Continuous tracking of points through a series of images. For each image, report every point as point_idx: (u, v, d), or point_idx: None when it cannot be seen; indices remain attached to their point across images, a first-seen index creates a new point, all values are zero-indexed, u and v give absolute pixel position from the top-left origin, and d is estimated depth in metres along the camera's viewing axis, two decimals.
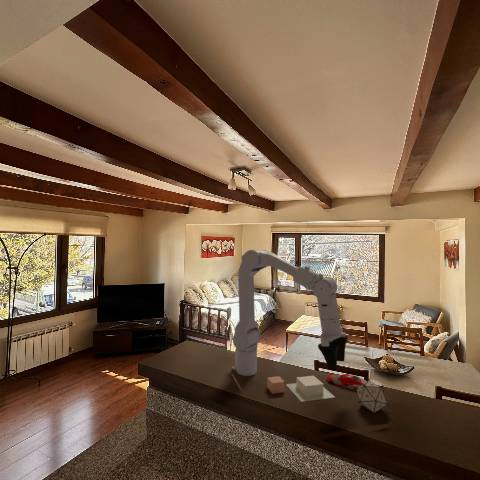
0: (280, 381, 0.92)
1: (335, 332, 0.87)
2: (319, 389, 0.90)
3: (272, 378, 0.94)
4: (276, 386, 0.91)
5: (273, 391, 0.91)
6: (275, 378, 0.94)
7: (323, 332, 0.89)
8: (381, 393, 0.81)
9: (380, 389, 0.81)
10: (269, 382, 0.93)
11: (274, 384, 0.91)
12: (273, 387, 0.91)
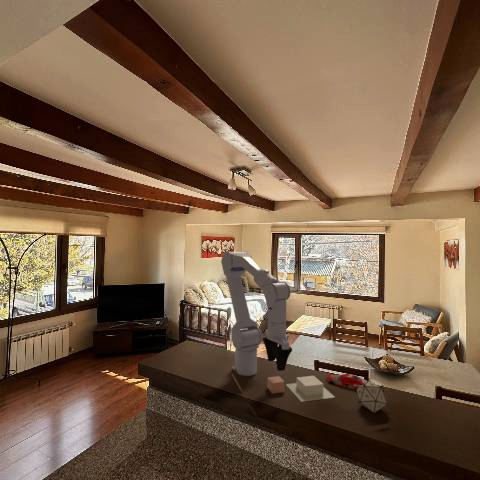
0: (280, 381, 0.92)
1: (284, 334, 0.92)
2: (319, 389, 0.90)
3: (272, 378, 0.94)
4: (276, 386, 0.91)
5: (273, 391, 0.91)
6: (275, 378, 0.94)
7: (273, 335, 0.91)
8: (381, 393, 0.81)
9: (380, 389, 0.81)
10: (269, 382, 0.93)
11: (274, 384, 0.91)
12: (273, 387, 0.91)
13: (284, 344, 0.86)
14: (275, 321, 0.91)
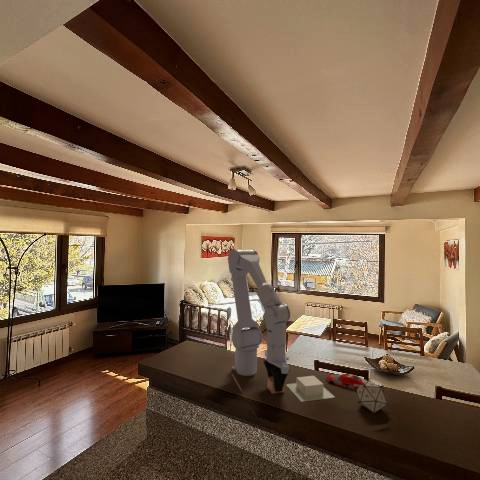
0: None
1: (284, 357, 0.92)
2: (319, 389, 0.90)
3: (272, 378, 0.94)
4: None
5: (273, 391, 0.91)
6: None
7: (273, 358, 0.91)
8: (381, 393, 0.81)
9: (380, 389, 0.81)
10: (269, 382, 0.93)
11: None
12: (273, 387, 0.91)
13: (284, 368, 0.86)
14: (275, 344, 0.90)
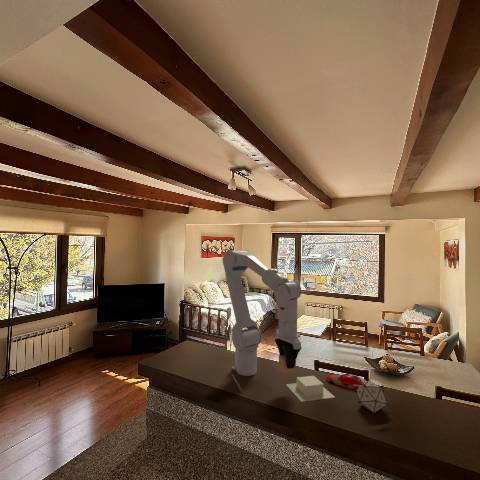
0: None
1: (296, 334, 0.91)
2: (319, 389, 0.90)
3: (284, 356, 0.94)
4: None
5: (285, 368, 0.91)
6: None
7: (285, 335, 0.91)
8: (381, 393, 0.81)
9: (380, 389, 0.81)
10: (280, 360, 0.93)
11: None
12: (285, 364, 0.91)
13: (296, 344, 0.86)
14: (288, 321, 0.90)
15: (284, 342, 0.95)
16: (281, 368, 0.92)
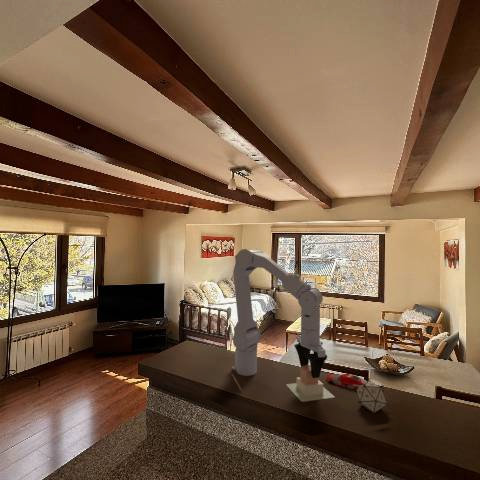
0: None
1: (319, 341, 0.91)
2: (319, 389, 0.90)
3: (305, 366, 0.94)
4: (311, 374, 0.91)
5: (307, 379, 0.90)
6: (308, 366, 0.93)
7: (308, 342, 0.90)
8: (381, 393, 0.81)
9: (380, 389, 0.81)
10: (302, 370, 0.92)
11: (309, 372, 0.91)
12: (307, 375, 0.90)
13: (320, 352, 0.86)
14: (313, 328, 0.90)
15: (304, 348, 0.96)
16: (303, 379, 0.92)
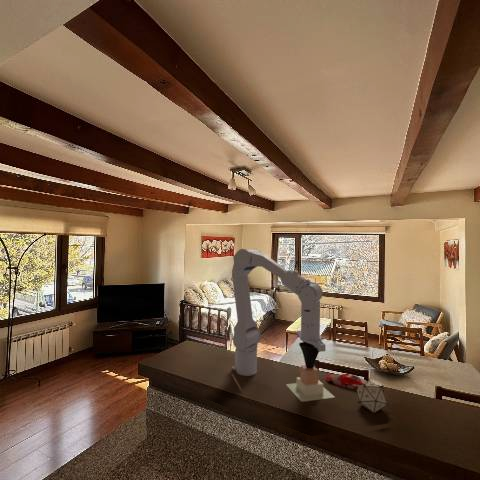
0: (314, 369, 0.92)
1: (319, 336, 0.91)
2: (319, 389, 0.90)
3: (305, 366, 0.94)
4: (311, 374, 0.91)
5: (307, 379, 0.90)
6: None
7: (308, 337, 0.90)
8: (381, 393, 0.81)
9: (380, 389, 0.81)
10: (302, 370, 0.92)
11: (309, 372, 0.91)
12: (307, 375, 0.90)
13: (320, 346, 0.86)
14: (313, 323, 0.90)
15: None
16: (303, 379, 0.92)
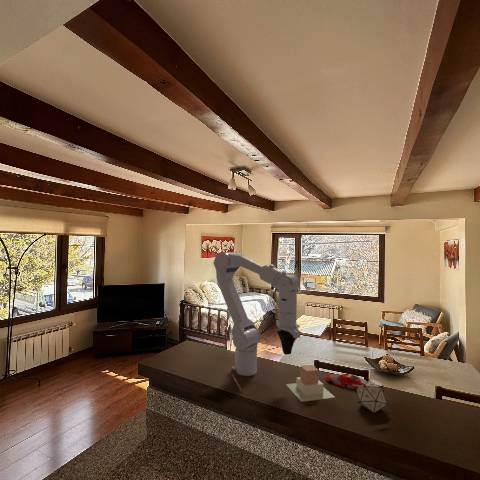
0: (314, 369, 0.92)
1: (295, 324, 0.96)
2: (319, 389, 0.90)
3: (305, 366, 0.94)
4: (311, 374, 0.91)
5: (307, 379, 0.90)
6: (308, 366, 0.93)
7: (285, 325, 0.95)
8: (381, 393, 0.81)
9: (380, 389, 0.81)
10: (302, 370, 0.92)
11: (309, 372, 0.91)
12: (307, 375, 0.90)
13: (295, 333, 0.90)
14: (290, 311, 0.95)
15: None
16: (303, 379, 0.92)
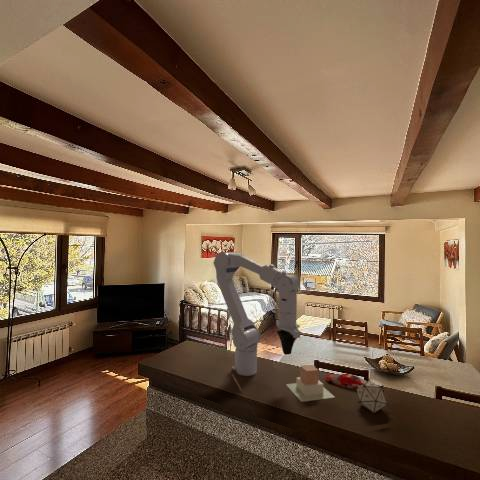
0: (314, 369, 0.92)
1: (295, 324, 0.96)
2: (319, 389, 0.90)
3: (305, 366, 0.94)
4: (311, 374, 0.91)
5: (307, 379, 0.90)
6: (308, 366, 0.93)
7: (285, 325, 0.95)
8: (381, 393, 0.81)
9: (380, 389, 0.81)
10: (302, 370, 0.92)
11: (309, 372, 0.91)
12: (307, 375, 0.90)
13: (295, 333, 0.90)
14: (290, 311, 0.95)
15: None
16: (303, 379, 0.92)
